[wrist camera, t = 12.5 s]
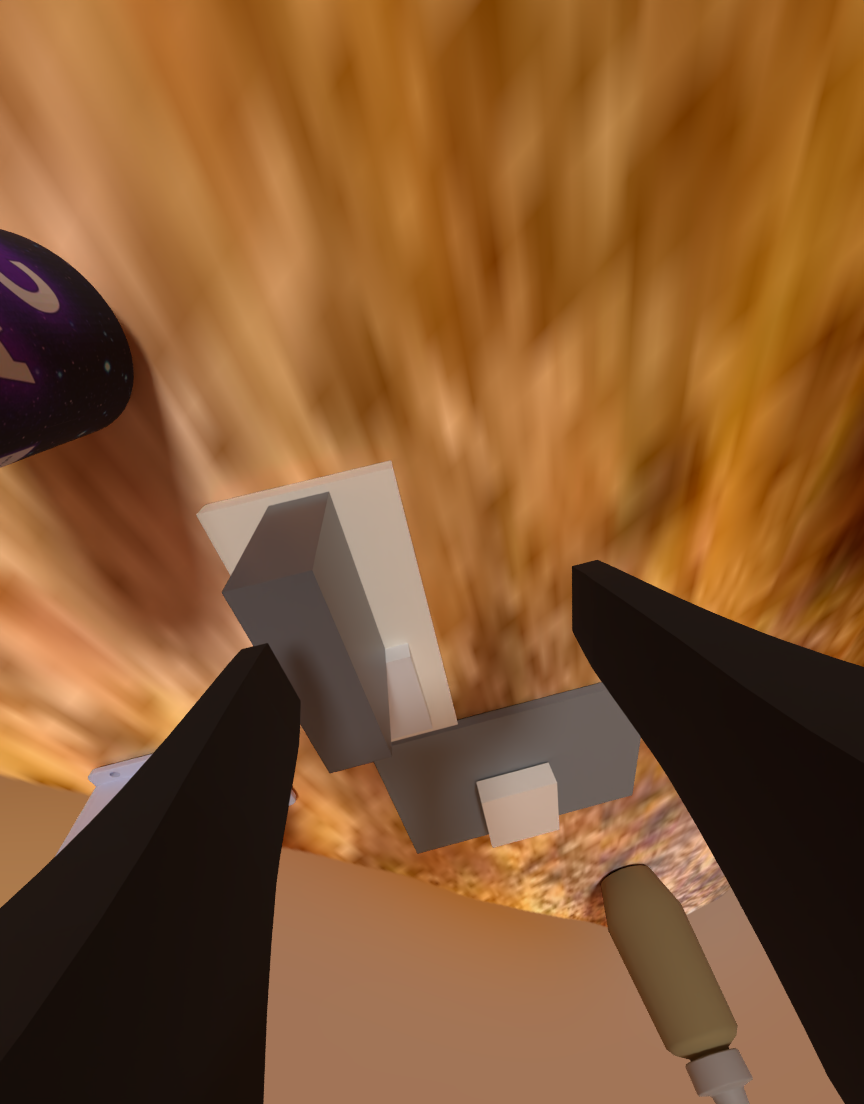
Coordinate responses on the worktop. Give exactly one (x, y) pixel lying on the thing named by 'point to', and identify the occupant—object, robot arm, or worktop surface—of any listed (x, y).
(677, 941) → the squeeze bottle
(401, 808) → the mat
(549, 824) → the tile
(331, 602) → the grey bar
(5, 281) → the beverage can
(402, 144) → the worktop surface
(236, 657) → the robot arm
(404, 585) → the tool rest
